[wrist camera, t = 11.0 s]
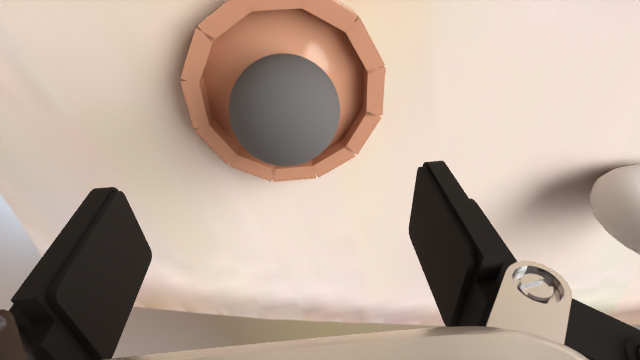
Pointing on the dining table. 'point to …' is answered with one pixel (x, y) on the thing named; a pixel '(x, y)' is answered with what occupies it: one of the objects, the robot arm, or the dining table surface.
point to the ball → (284, 109)
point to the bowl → (292, 38)
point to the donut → (619, 204)
